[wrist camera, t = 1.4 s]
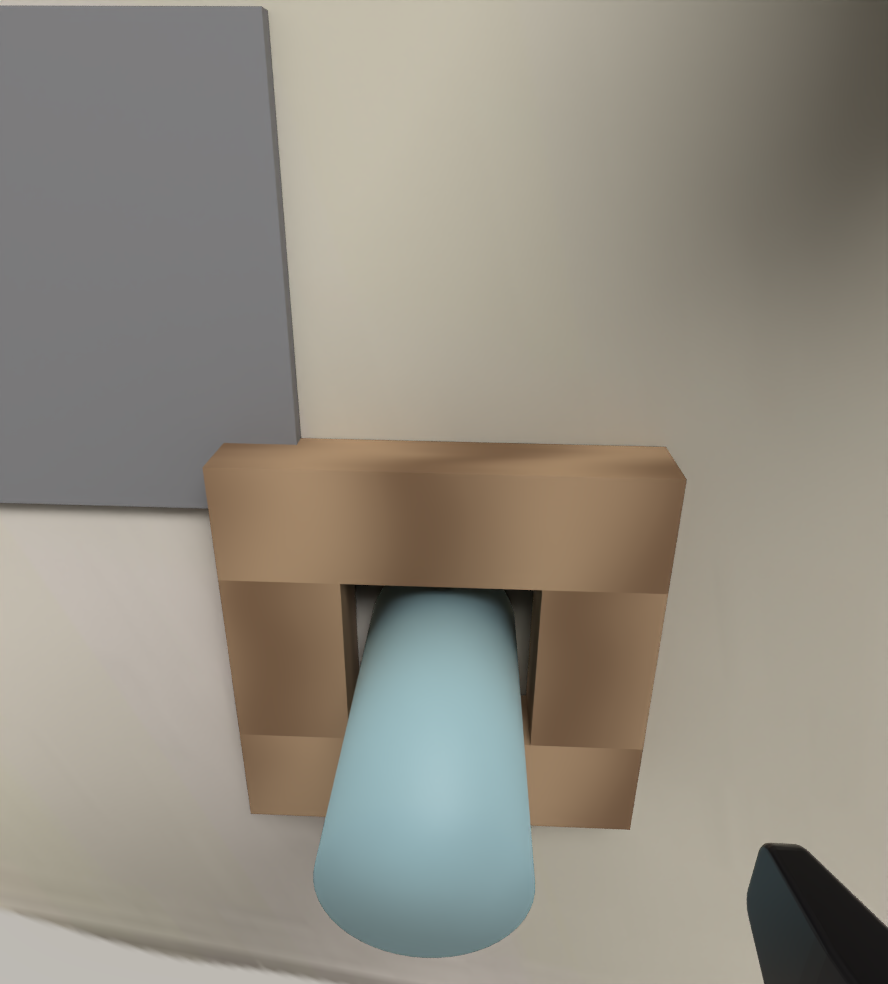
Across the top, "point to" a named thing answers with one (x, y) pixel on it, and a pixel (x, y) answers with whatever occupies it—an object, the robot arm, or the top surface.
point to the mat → (138, 252)
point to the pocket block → (446, 563)
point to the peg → (431, 780)
